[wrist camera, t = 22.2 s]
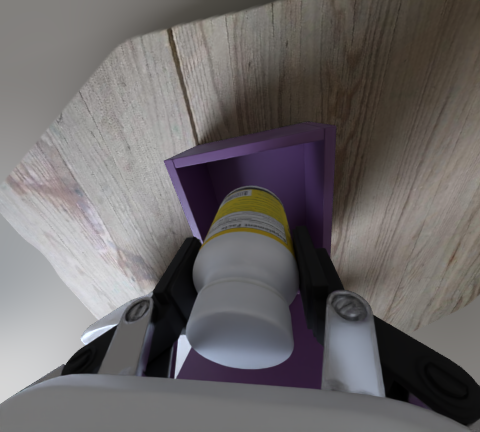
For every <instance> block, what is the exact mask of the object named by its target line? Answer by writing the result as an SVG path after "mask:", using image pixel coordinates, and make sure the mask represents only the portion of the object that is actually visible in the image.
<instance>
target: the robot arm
mask: <svg viewBox="0 0 480 432" xmlns="http://www.w3.org/2000/svg"><path fill="white" fill-rule="evenodd" d="M292 237H293V248H294V252H295V256H296V260H297V264H298V270H299V277H300V284H299V290H300V295H301V300H302V305H303V310H304V315H305V320H306V325H307V329H312V332H313V336H314V337H316V339H317V342H318V343H320V344H321V345H322V346H323V347H324V351H323V367H322V383H321V390H319V389H309V388H296V387H283V386H270V385H256V384H243V383H229V382H215V381H201V380H187V379H174V377H175V367H176V357H177V347H178V339H179V337H180V335H186V326H187V323H188V320H189V317H190V314H191V312H192V309H193V306H194V303H195V300H196V298H197V295H198V293H197V291H196V289H195V286H194V283H193V266H194V263H195V260H196V257H197V255H198V253H199V250H200V248H201V246H202V244H201V241H200V239H197V237H190V238H186V239H185V241H184V243H183V244H182V246H181V247H180V249H179V250H178V252H177V254H176V255H175V257H174V258H173V260H172V262H171V263H170V265H169V266H168V268H167V270H166V271H165V273H164V274H163V276H162V278H161V279H160V281H159V282H158V284H157V285H156V287H155V289H154V290H153V295H152V296H151V297H147V296H146V297H141V298H139V299H137V300H135V301H134V302H132V303H131V304H130V305H129V306H128V307H127V308H126V309H125V311H124V313H123V314H122V317H121V319H120V321H119V324H117V325H116V326H114V327H113V328H111V329H110V330H108V331H107V332H105V333H104V334H102V335H100V336H99V337H97V338H96V339H94V340H93V341H91V342H90V343H88V344H87V345H85V346H84V347H83V348H81V349H80V350H78V351H77V352H76V353H75V354H74V355H73V356H72V357H71V358H70V360H69V361H68V362H67V363H66V365H64V364H63V365H61V366H60V367H58V368H57V369H55V370H53V371H52V372H50V373H48V374H47V375H45V376H44V377H42V378H41V379H39V380H37V381H36V382H34V383H32V384H31V385H29V386H28V387H26V388H24V389H23V390H21V391H20V392H18V393H16V394H15V395H13V396H12V397H10V398H8V399H7V400H6V401H4V402H3V403H1V404H0V432H480V386H479V385H478V384H477V383H476V382H475V380H474V379H473V378H472V377H471V376H470V375H469V374H468V373H467V372H466V371H465V370H463V369H462V368H461V367H460V366H458V365H457V364H456V363H454V362H452V361H451V360H450V359H448V358H446V357H444V356H443V355H441V354H439V353H438V352H436V351H434V350H433V349H431V348H429V347H427V346H426V345H424V344H422V343H421V342H419V341H417V340H415V339H413V338H412V337H410V336H408V335H407V334H405V333H403V332H402V331H400V330H398V329H397V328H395V327H393V326H392V325H390V324H388V323H386V322H385V321H383V320H381V319H380V318H378V317H376V316H374V315H373V312H372V309H371V307H370V305H369V304H368V302H367V301H366V300H365V299H364V298H363V297H361V296H360V295H358V294H356V293H354V292H351V291H348V290H345V289H344V287H343V285H342V282H341V280H340V278H339V276H338V274H337V272H336V269H335V267H334V265H333V263H332V261H331V259H330V256H329V254H328V252H327V250H326V248H314V245H313V242H312V240H311V237H310V235H309V232H308V229H307V227H306V225H305V226H296V229H292Z"/></svg>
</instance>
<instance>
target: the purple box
mask: <svg viewBox="0 0 480 432" xmlns="http://www.w3.org/2000/svg"><path fill="white" fill-rule="evenodd" d="M335 146H336V126H335V125H328V124H322V123H315V122H309V121H308V122H304V123H299V124H294V125H290V126H285V127H280V128H276V129H271V130H266V131H262V132H257V133H253V134H248V135H243V136H239V137H234V138H229V139H225V140H220V141H215V142H211V143H206V144H202V145H197V146H195V147H193V148H191V149H188V150H186V151H184V152H182V153H180V154H178V155H175V156H173V157H171V158H169V159H167V160H165V161H164V163H165V165H166V168H167V170H168V173H169V175H170V178H171V181H172V183H173V186H174V188H175V191H176V193H177V196H178V198H179V201H180V203H181V206H182V208H183V211H184V213H185V216H186V218H187V221H188V223H189V226H190V228H191V231H192V233H193V236H194V237H197V239H200V241H201V244H203V242H204V240H205V238H206V236H207V234H208V232H209V229H210V227H211V225H212V223H213V221H214V218H215V216H216V214H217V212H218V210H219V207H220V205H221V203H222V202H223V200H224V199H225V197H226V196H227V195H228V194H229V193H231V192H232V191H234V190H235V189H237V188H240V187H244V186H258V187H262V188H265V189H267V190H269V191H271V192H272V193H274V194H275V195H276V196H277V197H278V198H279V200H280V201H281V203H282V204H283V207H284V210H285V213H286V218H287V222H288V226H289V230H290V235H291V239H292V243H293V237H292V229H296V226H305V225H306V227H307V229H308V232H309V235H310V237H311V240H312V242H313V245H314V248H326V250H327V252H328V254H329V256H330V253H331V232H332V211H333V189H334V168H335ZM297 293H300V290H299V289H298V292H297Z"/></svg>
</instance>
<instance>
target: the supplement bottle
mask: <svg viewBox="0 0 480 432" xmlns="http://www.w3.org/2000/svg"><path fill="white" fill-rule="evenodd" d="M193 283H194V286H195V289H196V291H197V293H198V295H197V298H196V300H195V303H194V306H193V309H192V312H191V314H190V317H189V320H188V323H187V326H186V337H187V340H188V342H189V344H190V345H191V346H192V348H193V349H194V350H195V351H197V352H198V353H199V354H200V355H202V356H204V357H205V358H207V359H209V360H211V361H213V362H216V363H218V364H221V365H224V366H228V367H233V368H241V369H262V368H268V367H272V366H276V365H278V364H280V363H282V362H284V361H285V360H287V359H288V358H289V357H290V355H291V354H292V352H293V349H294V339H293V331H292V322H291V313H290V310H289V305H290V304H291V303H292V302H293V300H294V299H295V297H296V295H297V292H298V289H299V284H300V277H299V270H298V264H297V260H296V256H295V252H294V248H293V243H292V239H291V235H290V230H289V226H288V222H287V218H286V213H285V210H284V207H283V204H282V203H281V201H280V200H279V198H278V197H277V196H276V195H275V194H274V193H272V192H271V191H269V190H267V189H265V188H262V187H258V186H244V187H240V188H237V189H235V190H234V191H232V192H231V193H229V194H228V195H227V196H226V197H225V199H224V200H223V202H222V203H221V205H220V207H219V210H218V212H217V214H216V216H215V218H214V221H213V223H212V225H211V227H210V229H209V232H208V234H207V236H206V238H205V240H204V242H203V244H202V246H201V248H200V250H199V253H198V255H197V257H196V260H195V263H194V266H193Z"/></svg>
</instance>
